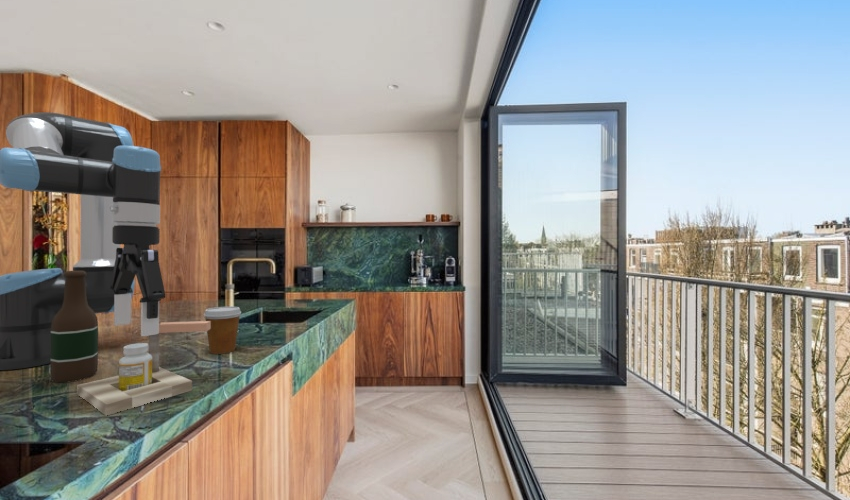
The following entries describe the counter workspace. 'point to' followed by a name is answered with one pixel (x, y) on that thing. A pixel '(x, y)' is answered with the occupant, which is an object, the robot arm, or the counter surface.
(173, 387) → the keeper board
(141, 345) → the supplement bottle
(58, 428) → the counter surface
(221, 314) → the disposable coffee cup
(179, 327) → the bar
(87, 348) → the beer bottle
